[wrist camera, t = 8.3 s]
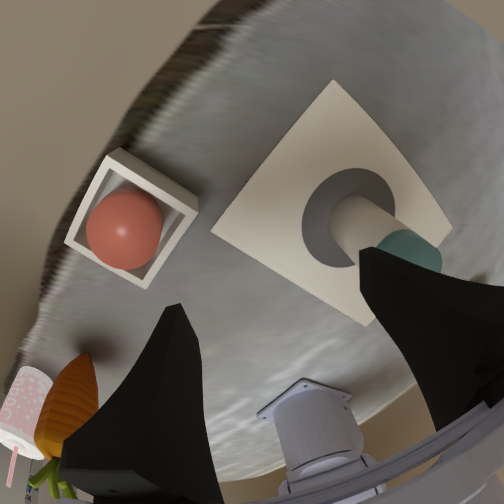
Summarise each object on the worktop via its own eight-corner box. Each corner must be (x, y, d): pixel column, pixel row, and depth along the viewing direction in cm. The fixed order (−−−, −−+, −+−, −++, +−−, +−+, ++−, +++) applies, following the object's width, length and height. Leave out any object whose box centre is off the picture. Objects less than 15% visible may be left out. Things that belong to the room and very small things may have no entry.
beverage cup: (48, 364, 23) (15, 484, 11) (68, 399, 26) (49, 505, 14) (6, 358, 22) (-33, 462, 10) (27, 392, 25) (2, 488, 13)
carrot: (53, 337, 22) (8, 484, 9) (96, 331, 22) (61, 498, 9) (78, 372, 24) (53, 508, 11) (120, 369, 25) (105, 518, 12)
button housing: (198, 196, 19) (198, 213, 16) (151, 265, 20) (146, 289, 18) (120, 147, 16) (106, 155, 14) (79, 223, 18) (64, 242, 15)
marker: (383, 215, 22) (450, 267, 15) (350, 254, 23) (406, 317, 16) (352, 184, 20) (423, 230, 13) (317, 227, 21) (372, 290, 14)
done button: (176, 211, 17) (174, 224, 15) (142, 264, 18) (137, 281, 16) (116, 173, 15) (106, 182, 13) (86, 231, 16) (75, 246, 14)
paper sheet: (452, 227, 24) (453, 227, 24) (365, 326, 27) (366, 327, 27) (332, 79, 16) (333, 79, 16) (210, 230, 20) (210, 231, 20)
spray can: (82, 440, 31) (74, 560, 13) (41, 425, 28) (24, 543, 11) (87, 424, 29) (77, 562, 11) (41, 406, 26) (18, 542, 9)
